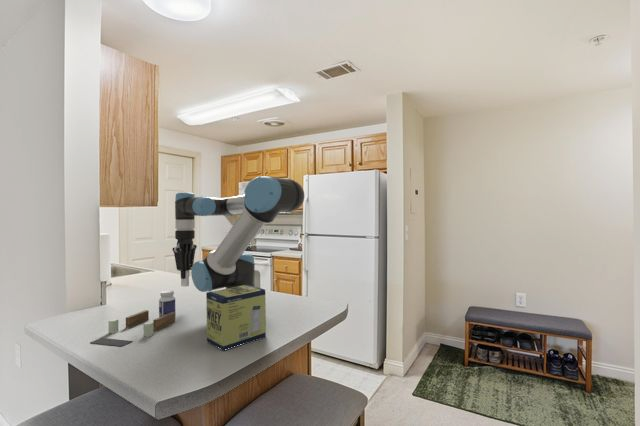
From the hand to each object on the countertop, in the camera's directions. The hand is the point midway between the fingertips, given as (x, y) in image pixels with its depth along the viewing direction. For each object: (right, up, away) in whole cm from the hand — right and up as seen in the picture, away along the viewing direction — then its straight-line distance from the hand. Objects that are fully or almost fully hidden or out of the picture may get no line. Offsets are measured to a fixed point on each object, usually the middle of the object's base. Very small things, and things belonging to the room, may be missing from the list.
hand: (185, 285), depth 136 cm
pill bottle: (-2, -10, -11) cm, 15 cm away
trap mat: (-8, -10, -35) cm, 37 cm away
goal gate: (-6, -10, -28) cm, 30 cm away
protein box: (+30, -10, -33) cm, 46 cm away
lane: (-4, -10, -19) cm, 22 cm away
